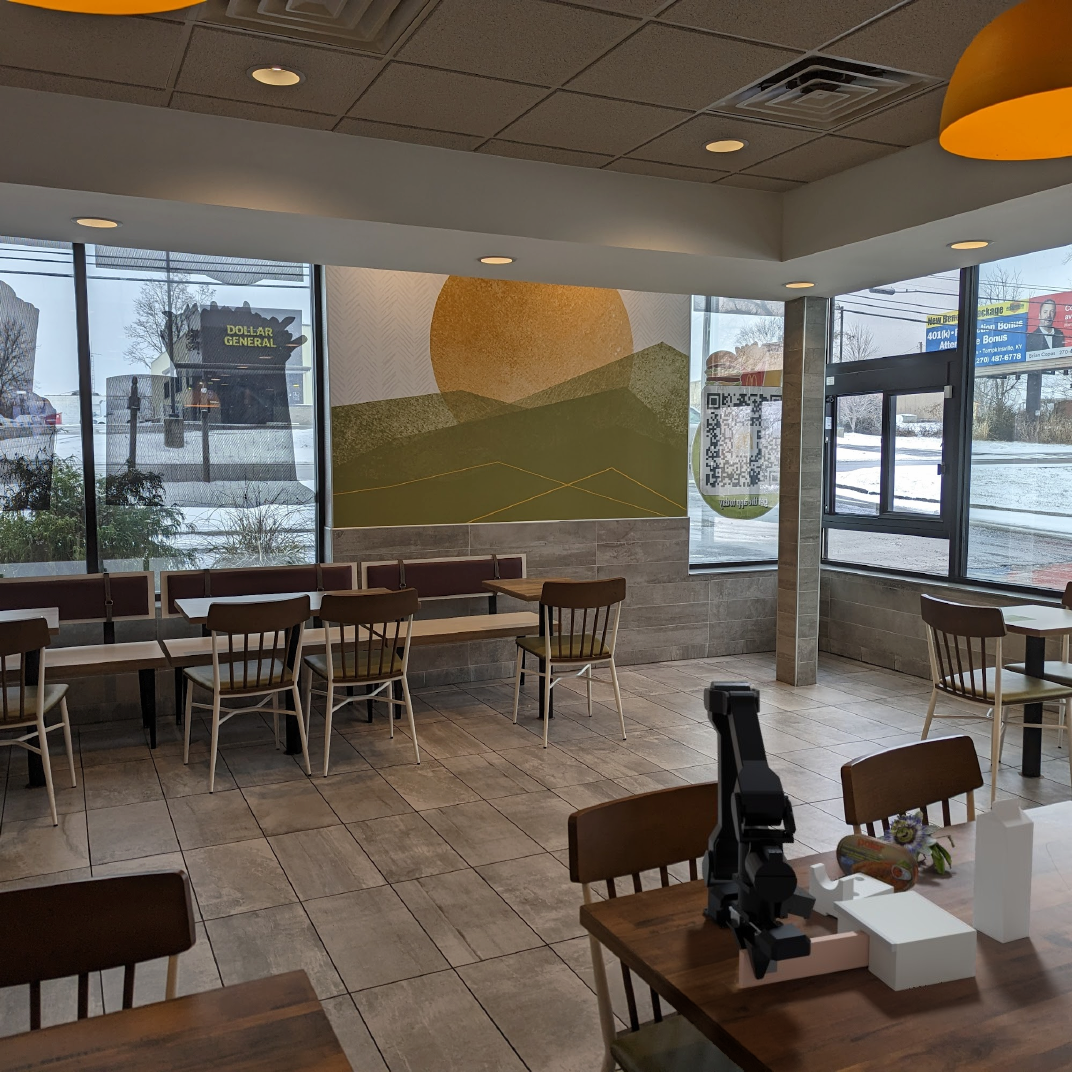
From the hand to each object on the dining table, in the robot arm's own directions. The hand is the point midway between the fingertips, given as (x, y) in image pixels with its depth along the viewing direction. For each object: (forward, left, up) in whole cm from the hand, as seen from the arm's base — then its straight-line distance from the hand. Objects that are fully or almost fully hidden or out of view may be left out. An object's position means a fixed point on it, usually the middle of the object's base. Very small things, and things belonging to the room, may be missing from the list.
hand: (756, 976), depth 138 cm
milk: (+46, +3, -2) cm, 47 cm away
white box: (+25, 0, -2) cm, 26 cm away
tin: (+38, +24, -2) cm, 45 cm away
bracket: (+29, +18, -2) cm, 34 cm away
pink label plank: (+8, 0, -1) cm, 9 cm away
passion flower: (+52, +30, -2) cm, 60 cm away
